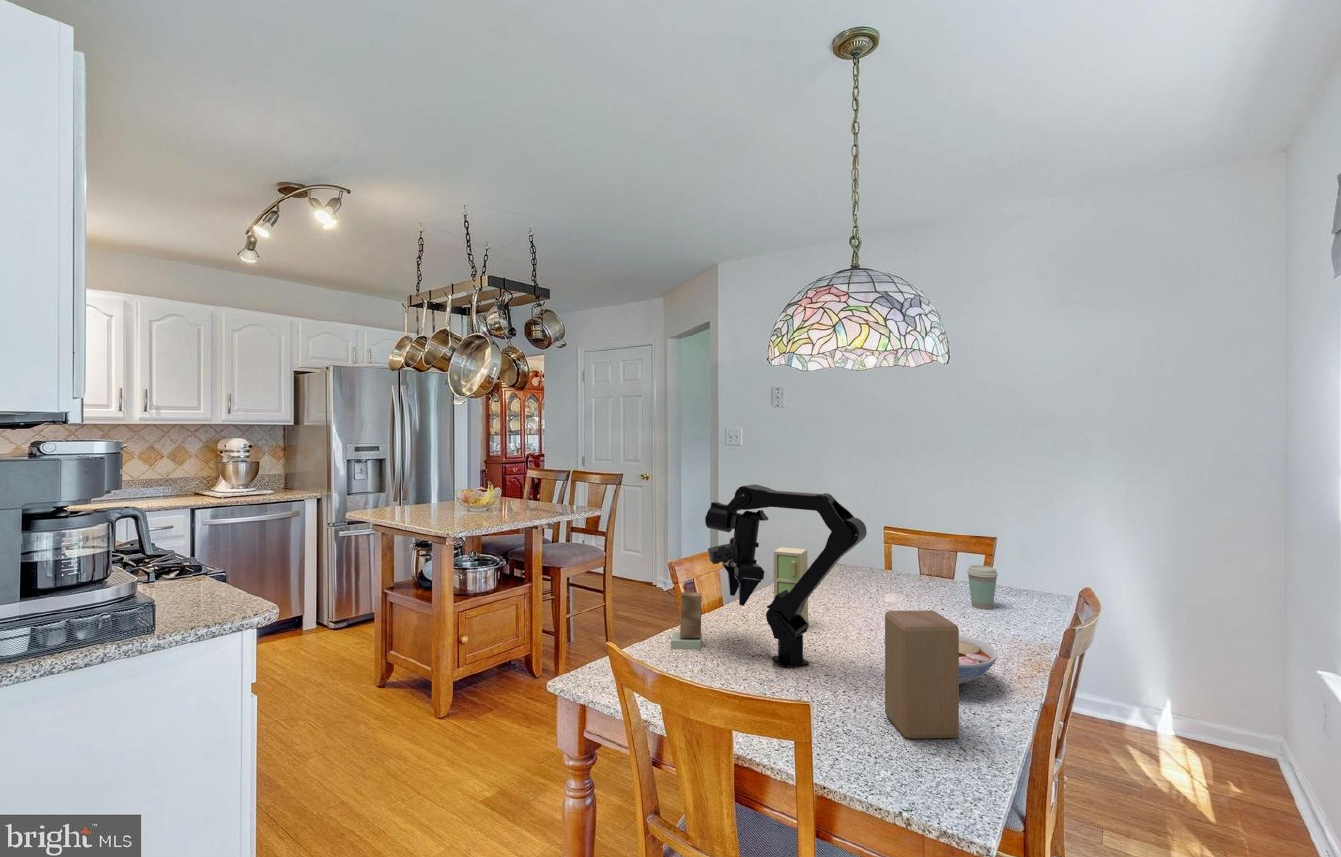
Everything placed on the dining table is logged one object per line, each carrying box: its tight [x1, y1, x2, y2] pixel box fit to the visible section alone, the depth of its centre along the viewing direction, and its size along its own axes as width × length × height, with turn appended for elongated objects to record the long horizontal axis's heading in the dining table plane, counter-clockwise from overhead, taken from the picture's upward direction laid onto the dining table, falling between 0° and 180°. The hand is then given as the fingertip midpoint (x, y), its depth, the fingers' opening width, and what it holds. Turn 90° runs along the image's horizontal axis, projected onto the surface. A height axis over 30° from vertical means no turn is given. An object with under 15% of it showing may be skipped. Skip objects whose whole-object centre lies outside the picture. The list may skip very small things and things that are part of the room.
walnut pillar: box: [679, 591, 703, 638], centre depth 152 cm, size 5×5×10 cm
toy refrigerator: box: [773, 546, 809, 624], centre depth 171 cm, size 8×7×21 cm
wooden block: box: [884, 609, 960, 739], centre depth 112 cm, size 10×10×20 cm
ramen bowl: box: [883, 633, 999, 685], centre depth 134 cm, size 25×23×8 cm
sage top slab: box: [670, 631, 703, 651], centre depth 152 cm, size 7×7×2 cm
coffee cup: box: [966, 564, 999, 610], centre depth 191 cm, size 8×9×12 cm
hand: (736, 600), depth 149 cm, fingers open, 9 cm apart
